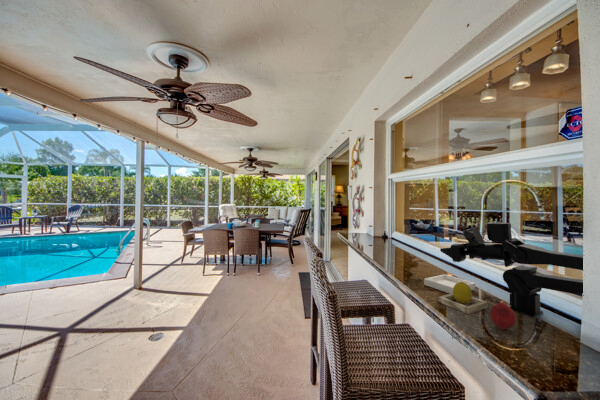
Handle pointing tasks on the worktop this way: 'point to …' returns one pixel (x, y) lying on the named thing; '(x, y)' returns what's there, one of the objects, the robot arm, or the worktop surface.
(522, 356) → the worktop surface
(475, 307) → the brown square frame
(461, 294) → the lemon
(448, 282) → the dish
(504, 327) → the onion
